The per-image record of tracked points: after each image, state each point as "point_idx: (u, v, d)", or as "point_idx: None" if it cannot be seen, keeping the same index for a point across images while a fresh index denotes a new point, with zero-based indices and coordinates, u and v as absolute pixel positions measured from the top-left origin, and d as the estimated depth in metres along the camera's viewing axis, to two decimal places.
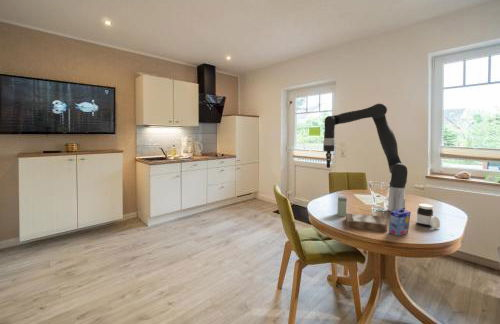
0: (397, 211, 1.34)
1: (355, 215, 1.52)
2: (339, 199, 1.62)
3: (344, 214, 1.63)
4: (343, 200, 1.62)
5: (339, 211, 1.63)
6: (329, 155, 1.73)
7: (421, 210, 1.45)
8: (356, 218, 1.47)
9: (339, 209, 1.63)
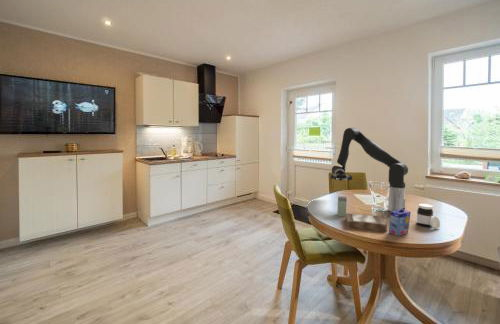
0: (397, 211, 1.34)
1: (355, 215, 1.52)
2: (339, 199, 1.62)
3: (344, 214, 1.63)
4: (343, 200, 1.62)
5: (339, 211, 1.63)
6: (331, 175, 1.83)
7: (421, 210, 1.45)
8: (356, 218, 1.47)
9: (339, 209, 1.63)
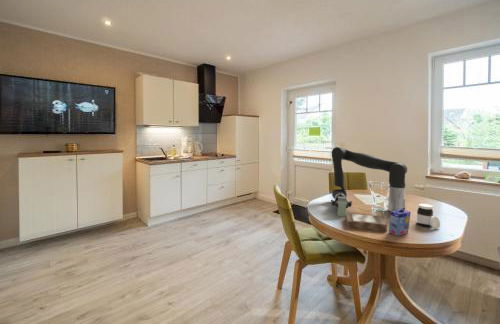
0: (397, 211, 1.34)
1: (355, 215, 1.52)
2: (339, 199, 1.62)
3: (344, 214, 1.63)
4: (343, 200, 1.62)
5: (339, 211, 1.63)
6: (331, 201, 1.72)
7: (421, 210, 1.45)
8: (356, 218, 1.47)
9: (339, 209, 1.63)
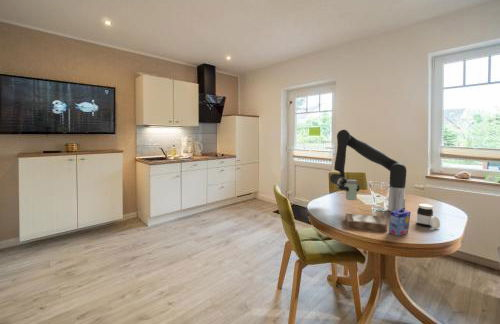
0: (397, 211, 1.34)
1: (355, 215, 1.52)
2: (349, 182, 1.51)
3: (354, 198, 1.52)
4: (354, 183, 1.51)
5: (349, 195, 1.52)
6: (338, 185, 1.60)
7: (421, 210, 1.45)
8: (356, 218, 1.47)
9: (350, 193, 1.52)
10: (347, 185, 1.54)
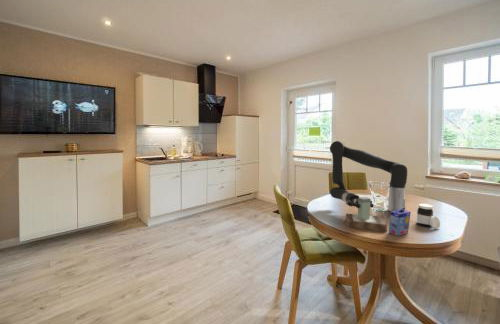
0: (397, 211, 1.34)
1: (355, 215, 1.52)
2: (363, 200, 1.44)
3: (368, 216, 1.45)
4: (367, 201, 1.44)
5: (363, 214, 1.45)
6: (346, 201, 1.52)
7: (421, 210, 1.45)
8: (356, 218, 1.47)
9: (363, 212, 1.45)
10: (360, 203, 1.46)
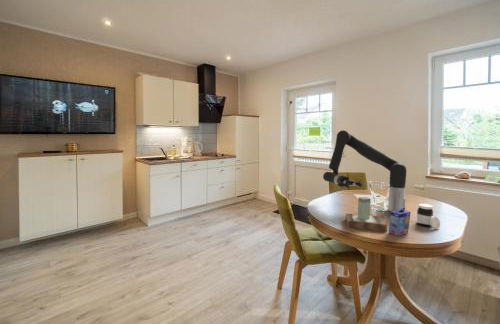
0: (397, 211, 1.34)
1: (355, 215, 1.52)
2: (363, 200, 1.44)
3: (368, 216, 1.45)
4: (367, 201, 1.44)
5: (363, 214, 1.45)
6: (337, 182, 1.66)
7: (421, 210, 1.45)
8: (356, 218, 1.47)
9: (363, 212, 1.45)
10: (360, 203, 1.46)
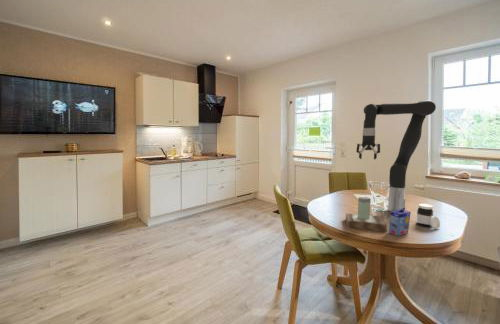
0: (397, 211, 1.34)
1: (355, 215, 1.52)
2: (363, 200, 1.44)
3: (368, 216, 1.45)
4: (367, 201, 1.44)
5: (363, 214, 1.45)
6: (357, 145, 1.69)
7: (421, 210, 1.45)
8: (356, 218, 1.47)
9: (363, 212, 1.45)
10: (360, 203, 1.46)
